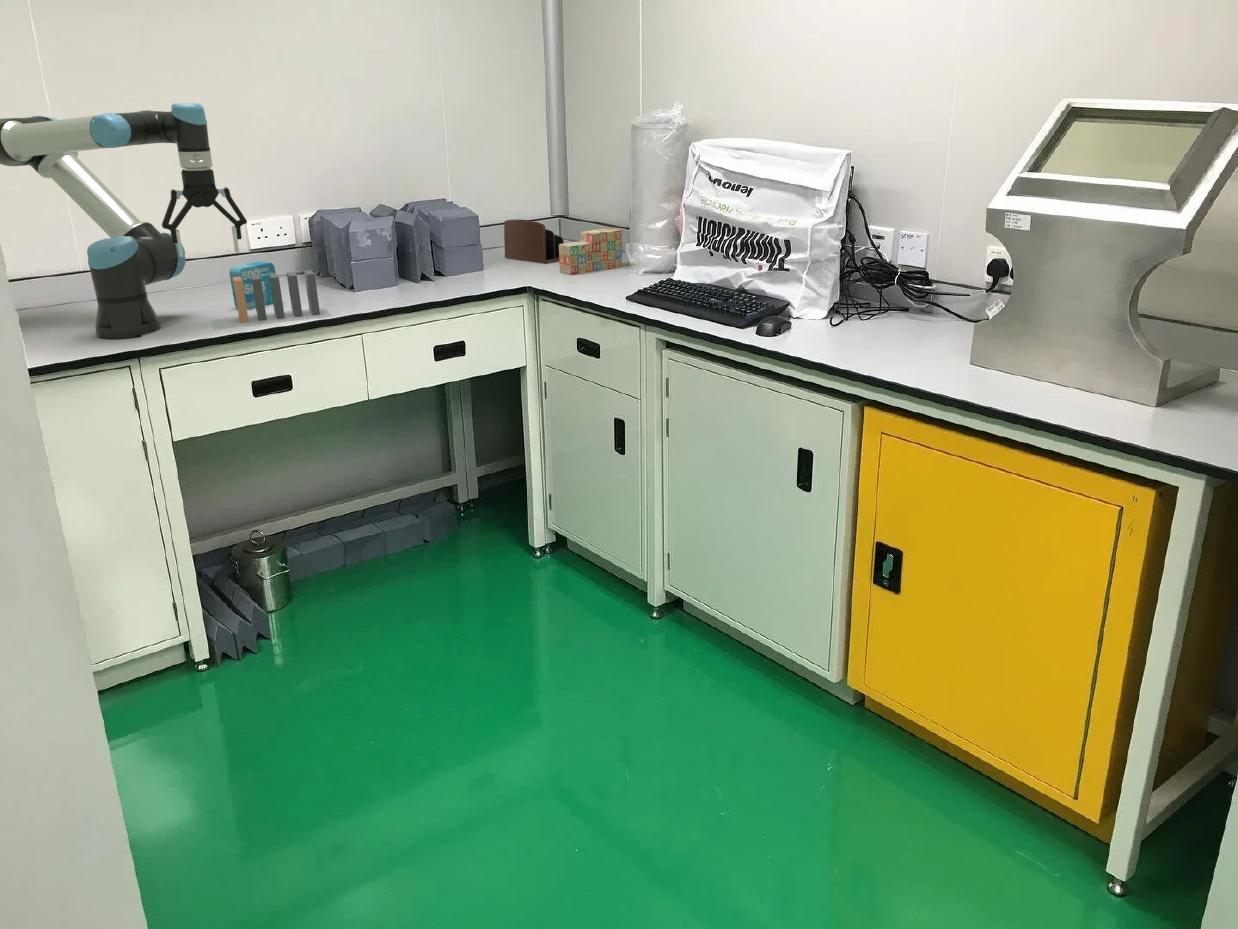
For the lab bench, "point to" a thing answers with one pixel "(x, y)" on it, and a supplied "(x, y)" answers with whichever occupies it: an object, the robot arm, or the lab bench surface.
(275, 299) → the domino
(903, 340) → the lab bench surface
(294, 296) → the domino
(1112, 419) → the lab bench surface
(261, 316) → the domino
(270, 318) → the mat
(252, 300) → the data package
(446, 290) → the lab bench surface
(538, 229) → the letter holder
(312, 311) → the domino
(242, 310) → the domino
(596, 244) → the stack of blocks
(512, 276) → the lab bench surface
